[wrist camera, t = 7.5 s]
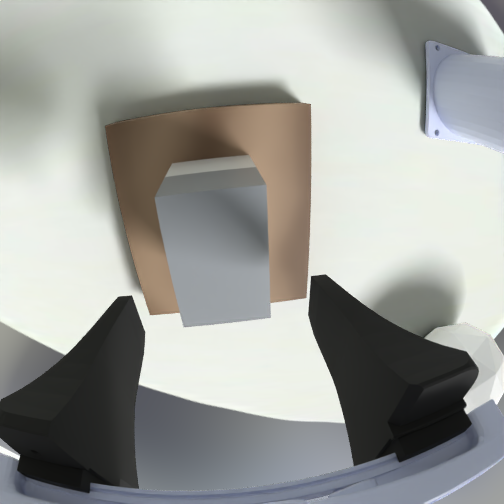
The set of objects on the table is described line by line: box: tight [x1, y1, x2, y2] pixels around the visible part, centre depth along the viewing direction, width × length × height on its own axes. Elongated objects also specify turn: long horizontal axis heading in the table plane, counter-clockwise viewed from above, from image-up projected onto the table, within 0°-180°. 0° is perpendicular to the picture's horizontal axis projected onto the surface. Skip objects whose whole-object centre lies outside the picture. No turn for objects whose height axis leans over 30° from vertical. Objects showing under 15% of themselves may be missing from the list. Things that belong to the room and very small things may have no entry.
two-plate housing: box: [155, 155, 271, 327], centre depth 16 cm, size 4×7×6 cm, turn 3°
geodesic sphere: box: [424, 322, 504, 414], centre depth 27 cm, size 15×14×14 cm
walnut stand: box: [105, 103, 311, 315], centre depth 20 cm, size 12×14×2 cm
